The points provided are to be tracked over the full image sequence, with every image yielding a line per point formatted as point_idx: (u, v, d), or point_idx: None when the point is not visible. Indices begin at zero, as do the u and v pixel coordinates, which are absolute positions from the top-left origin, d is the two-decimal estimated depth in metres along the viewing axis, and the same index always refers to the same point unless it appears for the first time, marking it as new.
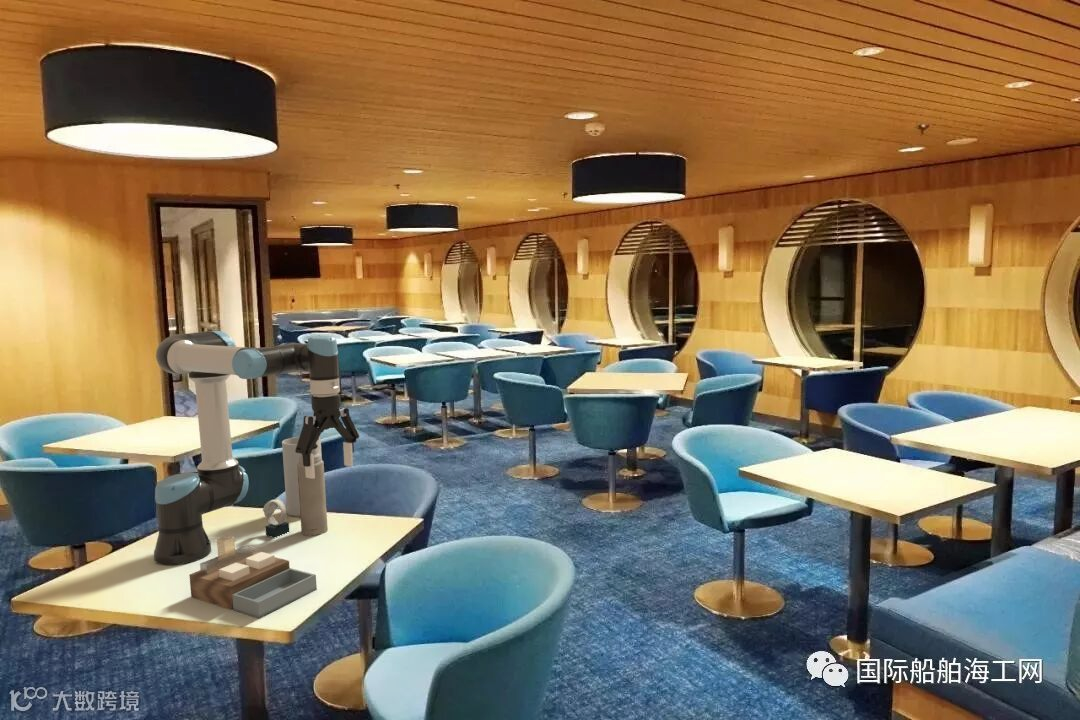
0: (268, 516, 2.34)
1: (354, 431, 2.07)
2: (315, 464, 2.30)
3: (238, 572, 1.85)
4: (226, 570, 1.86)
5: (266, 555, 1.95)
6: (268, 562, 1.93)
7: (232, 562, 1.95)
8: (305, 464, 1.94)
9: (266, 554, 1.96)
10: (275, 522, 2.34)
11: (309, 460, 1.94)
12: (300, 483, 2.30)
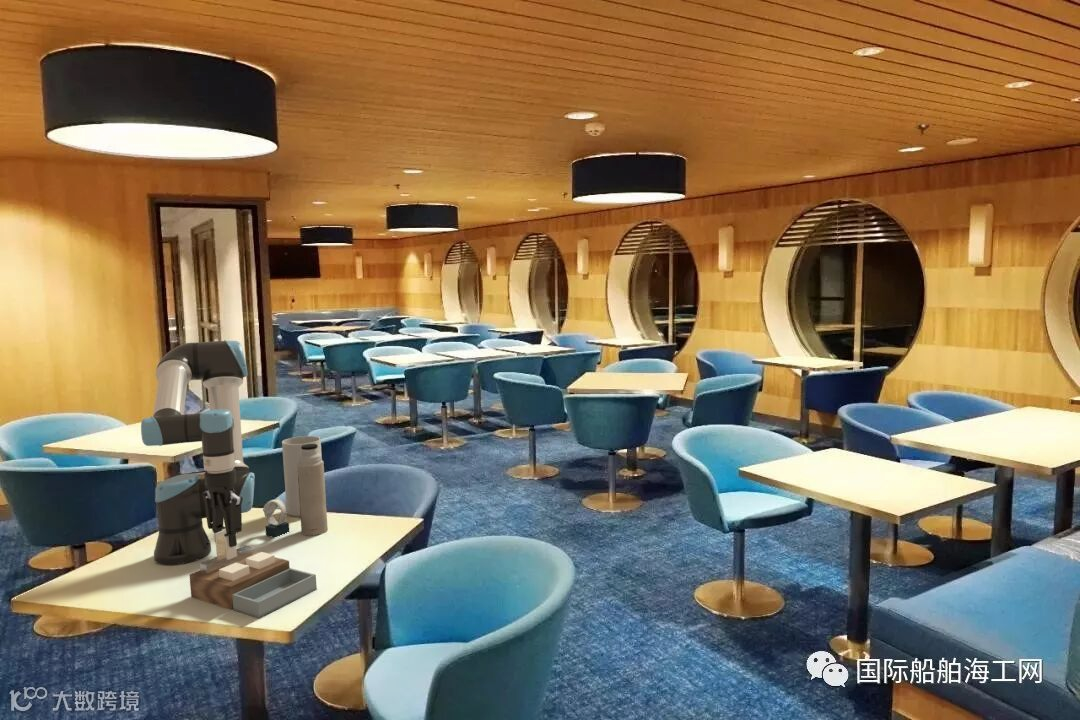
0: (268, 516, 2.34)
1: (231, 524, 1.90)
2: (315, 464, 2.30)
3: (238, 572, 1.85)
4: (226, 570, 1.86)
5: (266, 555, 1.95)
6: (268, 562, 1.93)
7: (232, 562, 1.95)
8: None
9: (266, 554, 1.96)
10: (275, 522, 2.34)
11: None
12: (300, 483, 2.30)
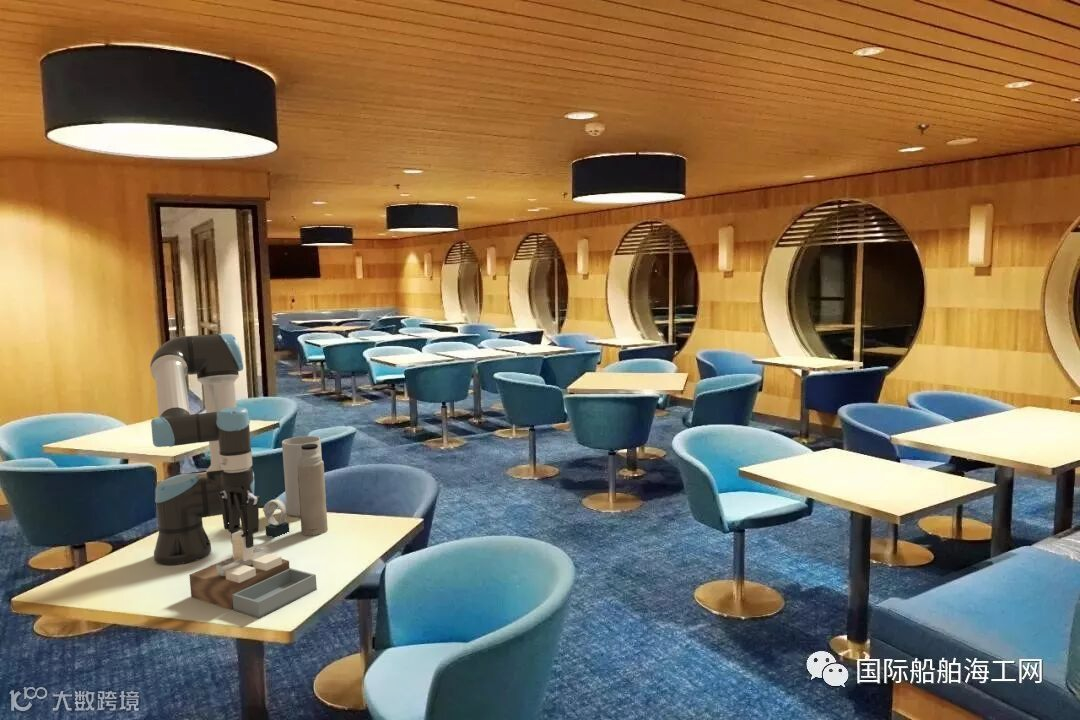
0: (268, 516, 2.34)
1: (248, 525, 1.87)
2: (315, 464, 2.30)
3: (244, 574, 1.84)
4: (232, 572, 1.84)
5: (273, 557, 1.94)
6: (275, 563, 1.92)
7: (249, 563, 1.91)
8: None
9: (273, 556, 1.94)
10: (275, 522, 2.34)
11: None
12: (300, 483, 2.30)
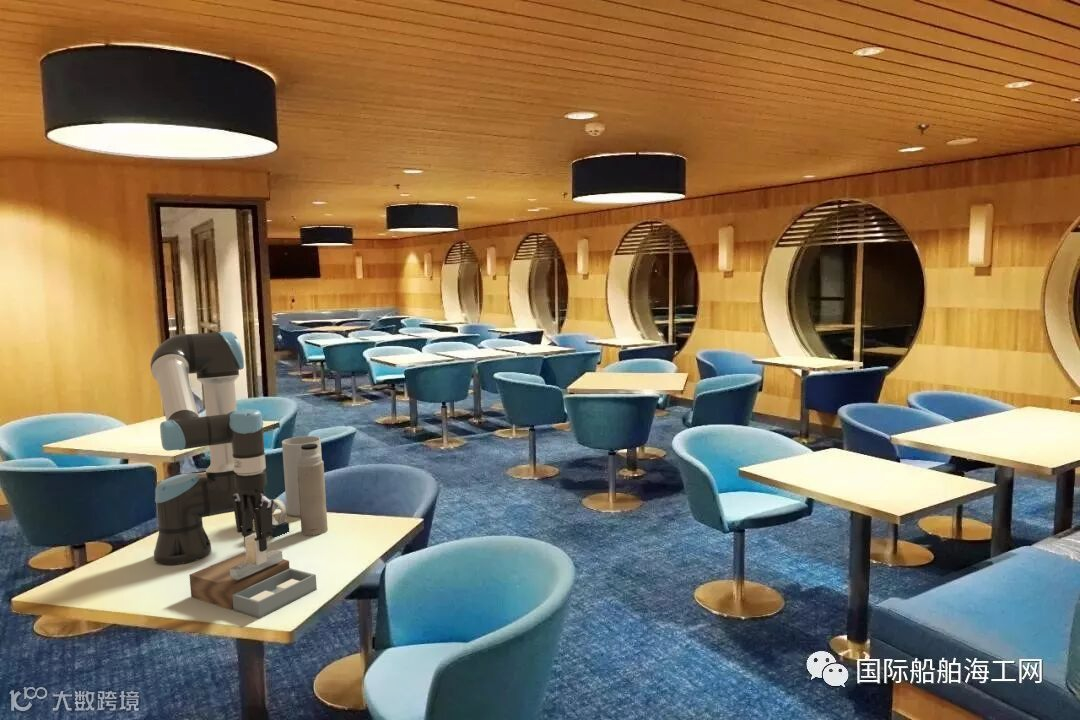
0: None
1: (262, 528, 1.84)
2: (315, 464, 2.30)
3: None
4: None
5: None
6: None
7: (262, 567, 1.89)
8: None
9: None
10: (275, 522, 2.34)
11: None
12: (300, 483, 2.30)
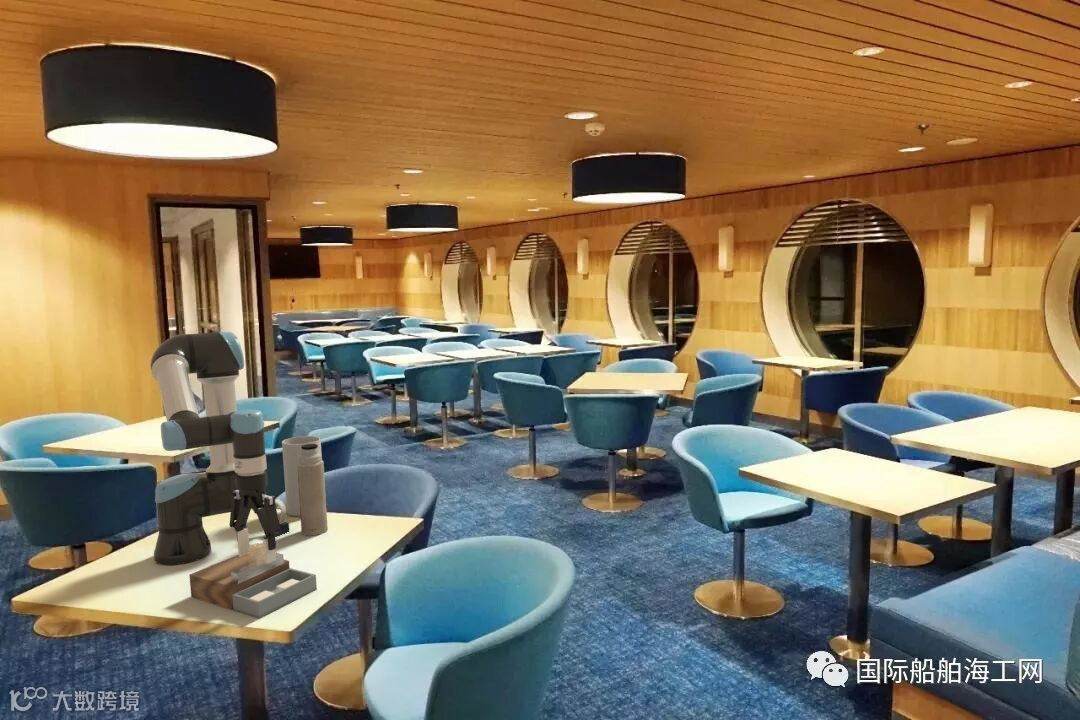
0: None
1: (269, 527, 1.83)
2: (315, 464, 2.30)
3: None
4: None
5: None
6: None
7: (263, 570, 1.89)
8: None
9: None
10: None
11: None
12: (300, 483, 2.30)
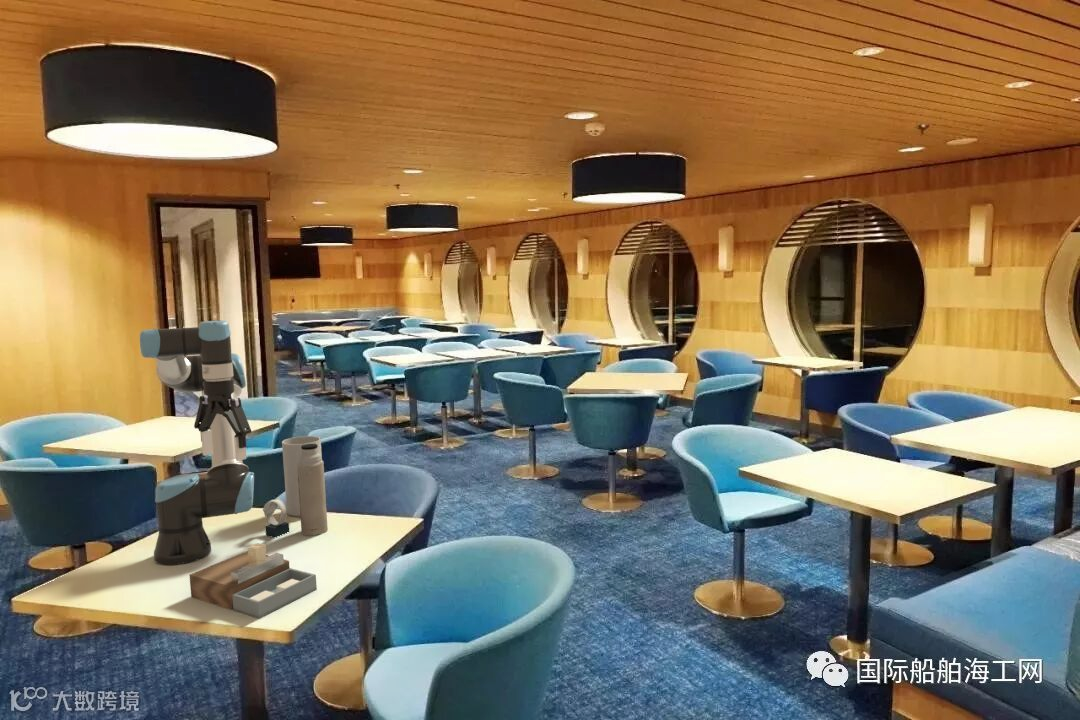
0: (268, 516, 2.34)
1: (239, 426, 1.93)
2: (315, 464, 2.30)
3: None
4: None
5: None
6: None
7: (263, 570, 1.89)
8: None
9: None
10: (275, 522, 2.34)
11: None
12: (300, 483, 2.30)
